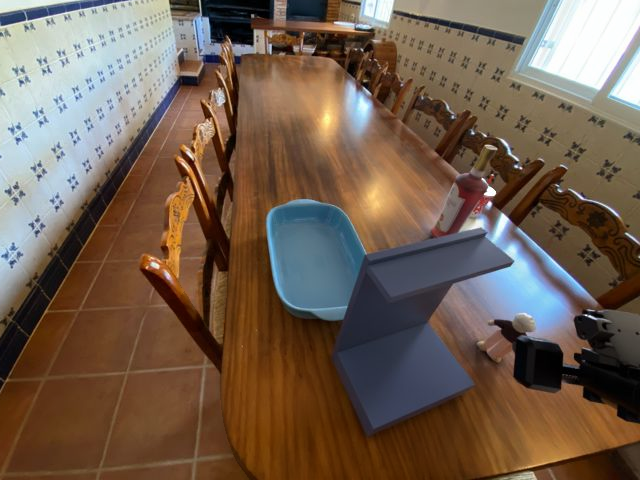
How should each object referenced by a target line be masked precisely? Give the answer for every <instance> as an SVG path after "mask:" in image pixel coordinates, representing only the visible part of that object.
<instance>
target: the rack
mask: <svg viewBox="0 0 640 480" xmlns="http://www.w3.org/2000/svg"><path fill="white" fill-rule="evenodd" d="M487 234H488V231H487V230H486V229H484V228H483V227H482V226H480V227H477V228H472V229H467V230H464V231H459V233H455V234H450V235H446V236H442V237H438V238H434V237H433V238H429V239H426V240H421V241H420V240H419V241H417V242H411V243H408V244H404V245H400V246H395V247H391V248H386V249H382V250H377V251H374V252H369V253H367V254H365V256H364V259H363V262H362V265H361V268H360V271H359V274H358V277H357V280H356V283H355V286H354V289H353V292H352V295H351V298H350V301H349V304H348V307H347V310H346V313H345V316H344V319H343V320H342V322H341V325H340V328H339V331H338V333H337V336H336V340H335V343H334V345H333V348H332V352H331V355H330V358H331V360H332V362H333V364H334V367H335V369H336V371H337V373H338V375H339V378H340V380H341V383H342V385H343V387H344V389H345V390H346V393H347V396H348V398H349V400H350V402H351V405H352V406H353V409H354V411H355V414H356V416H357V418H358V420H359V422H360V424H361V426H362V429H363V431H364V433H365V435H366V437H367V438H369V437H371V436H373V435H376V434H377V433H380V432H382V431H384V430H387V429H389V428H391V427H393V426H395V425H398V424H400V423H403V422H405V421H407V420H409V419H411V418H414V417H416V416H418V415H421V414H423V413H425V412H427V411H430V410H432V409H434V408H436V407H438V406H441V405H443V404H445V403H447V402H449V401H451V400H454V399H456V398H458V397H461V396H463V395H465V394H466V393H468V392H469V390H472V388H473V387H474V386H476V383H475V382H474V381H473V379H472V378H471V376H470V375H469V374H468V373H467V371H466V370H465V369H464V368H463V365H461V364H460V362H459V361H458V360H457V358H456V357H455V356H454V354H453V353H452V352H451V351H450V349H449V348H448V346H447V345H446V344H445V343H444V341H443V340H442V339H441V337H440V336H439V335H438V334H437V332H436V330H434V328H433V327H432V325H431V324H430V323H429V321H430V320H431V317H433V315H434V313H435V312H436V310H438V307H439V306H440V304H441V303H442V302H443V300H444V299H445V297H446V295H448V293H449V291H450V290H451V288H452V287H453V285H455V284H458V283H460V282H461V283H462V282H464V281H467V280H470V279H474V278H477V277H480V276H484V275H487V274H491V273H494V272H498V271H500V270H505V269H507V268H511V267H512V265H513V264H514V263H515V259H513V258H512V257H511V256H510V255H509V254H508V253H506V252H504V251H503V250H502V249H501V248H500V247H499V246H497V245H496V244H495V243H494V242H493V241H491V240H490V239H489V238H488V237H486V236H487Z"/></svg>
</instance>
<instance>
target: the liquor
mask: <svg viewBox="0 0 640 480" xmlns="http://www.w3.org/2000/svg"><path fill="white" fill-rule="evenodd" d="M497 151H498V148H497V146H494V145H492V144H484V146H483V147H482V149H481V151H480V154H479V157H478V159H477V160H476V162H475V164H474V165H473V166H472V168H471V170H470V171H469V172H464V173H461V174H460V173H459V174H458V175H456V177H455V179H454V181H453V183H452V185H451V188H450V190H449V192H448V195H447V197H446V199H445V201H444V202H445V203H444V205H443V207H442V209H441V212H440V213H439V216H438V218H437V220H436V222H435V224H434V226H433V227H432V228H430V234H431V236H432V237H433V238H438V237H442V236H446V235H450V234H455V233H459V232H461V230H462V228H463V227H464V225H465V224H466V222H467V221H468V219H469V218H470V215H471V213H472V212H473V210H474V209H475V207H476V206H477V205H478V203H479V202H480V200H481V198H482V197H483V195H484V194H485V192H486V191H487V189H488V188H489V187H490V186H489V185H488V184H487V183H488V181H486V179H485V178H483V177H484V175H485V173H486V170H487V168H488V166H489V163H490V161H492V159H493V158H494V157H495V155H496V153H497Z"/></svg>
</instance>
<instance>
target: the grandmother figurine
mask: <svg viewBox="0 0 640 480" xmlns="http://www.w3.org/2000/svg"><path fill="white" fill-rule="evenodd" d="M487 325H488V326H489V327H494V326H497V327H498V328H499V329H497V330H495V331H493V332H492V333H491V334H490V335H488V336H487V337H486V338H485V339H484V340H481V341H478V342H477V343H476V345H477V348H478V349H479V350H481V351H482V352H486V353H487V355H488V357H489V358H490V359H491V361H493V362H495V363H501V362H502V359H503V358H504V357H506V356H507V355H509V354H510V353H511V352H513V349H512V343H513V342H516V338H517V337H519V336H520V335H524V336H528V334H527V333H533V332H535V331H536V329H537V324H536V321H535V320H534V317H533V316H531V315H529V314H528V313H526V312H518V313H516V314H515V315H514V319H513V320H509V319H499V318H495V319H491V320H488V321H487Z"/></svg>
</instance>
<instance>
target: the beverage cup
mask: <svg viewBox="0 0 640 480" xmlns="http://www.w3.org/2000/svg"><path fill="white" fill-rule="evenodd" d="M493 178H494V174H491V175H490V177H489V179H488V181H487V184H488V186H489V184H490V183H491V181H492V180H493ZM496 194H497V193H496V191H495V189H494V188H492V187H491V186H489V188H488V189H487V191H486V192H485V194H484V195H483V197H482V198H481V200H480V202H479V203H478V205H477V206H476V207H475V209H474V210H473V212H472V213H471V215H470V216H469V218H478V217H479V216H480V215H481V213H483V211H484V210H485V208H486V207H487V205H488V204H489V202H490V200H492V198H494V197H495V195H496Z"/></svg>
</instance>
